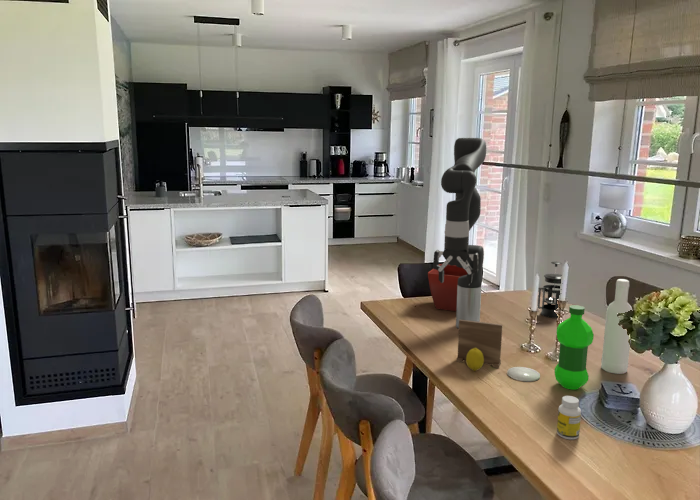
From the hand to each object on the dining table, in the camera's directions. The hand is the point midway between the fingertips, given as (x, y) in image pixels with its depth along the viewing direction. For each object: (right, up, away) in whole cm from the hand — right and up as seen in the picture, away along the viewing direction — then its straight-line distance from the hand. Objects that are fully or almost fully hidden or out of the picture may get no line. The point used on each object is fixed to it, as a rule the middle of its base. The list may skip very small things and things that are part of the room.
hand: (455, 283), depth 182 cm
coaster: (+21, -29, -2) cm, 36 cm away
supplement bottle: (+22, -37, -38) cm, 57 cm away
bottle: (+52, -28, +3) cm, 60 cm away
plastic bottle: (+33, -31, -10) cm, 46 cm away
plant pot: (+12, -15, +70) cm, 72 cm away
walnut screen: (+9, -27, +8) cm, 30 cm away
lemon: (+6, -29, +1) cm, 29 cm away
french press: (+52, -17, +59) cm, 81 cm away
